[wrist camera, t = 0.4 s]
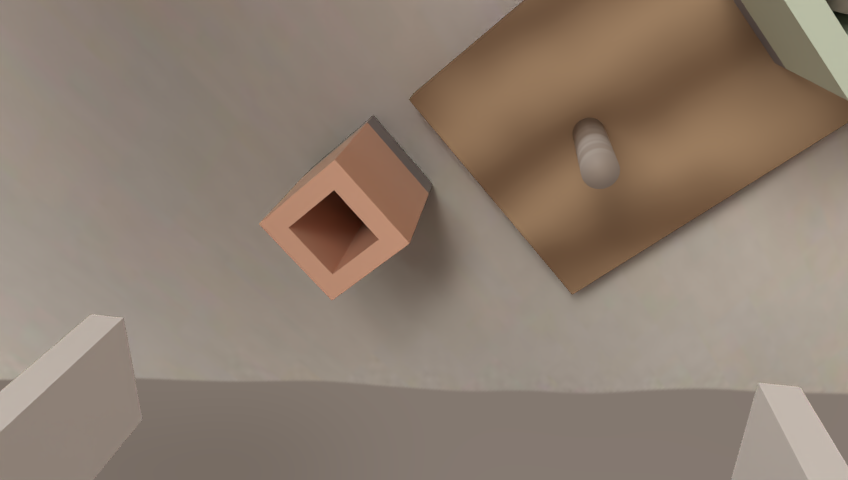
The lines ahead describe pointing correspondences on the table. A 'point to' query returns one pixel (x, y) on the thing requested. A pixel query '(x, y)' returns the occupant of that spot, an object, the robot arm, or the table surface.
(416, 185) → the terracotta sleeve
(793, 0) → the sage sleeve
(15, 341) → the table surface
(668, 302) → the table surface
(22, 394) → the robot arm
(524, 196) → the pin board
